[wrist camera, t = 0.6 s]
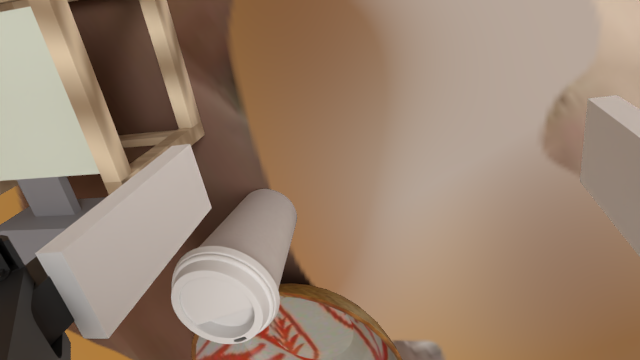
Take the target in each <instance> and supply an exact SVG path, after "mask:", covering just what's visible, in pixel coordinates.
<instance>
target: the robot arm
mask: <svg viewBox="0 0 640 360" xmlns="http://www.w3.org/2000/svg"><path fill="white" fill-rule="evenodd" d="M580 182H581V183H582V185H583V186H584V187H585V188H586V190H587V191H588V192H589V193H590V195H591V196H592V197H593V198H594V200H595V201H596V202H597V203H598V205H599V206H600V207H601V209H602V210H603V211H604V212H605V213H606V215H607V216H608V217H609V219H610V220H611V221H612V222H613V224H614V225H615V226H616V227H617V229H618V230H619V231H620V232H621V234H622V235H623V236H624V237H625V239H626V240H627V241H628V242H629V244H630V245H631V246H632V247H633V249H634V250H635V251H636V253H637V254H638V255H639V256H640V109H638V108H637V107H635V106H634V105H632V104H630V103H629V102H627V101H626V100H624V99H623V98H621V97H619V96H618V95H615V96H606V97H597V98H588V102H587V112H586V123H585V134H584V144H583V155H582V166H581V176H580ZM211 208H212V207H211V204H210V201H209V198H208V195H207V192H206V189H205V187H204V184H203V181H202V178H201V175H200V172H199V169H198V166H197V163H196V160H195V157H194V154H193V151H192V148H191V145H190V144H184V145H176V146H171V147H170V148H169V149H167V150H166V151H165V152H163V153H162V154H161V155H160V156H158V157H157V158H156V159H155V160H153V161H152V162H151V163H149V164H148V165H147V166H146V167H144V168H143V169H142V170H141V171H139V172H138V173H137V174H135V175H134V176H133V177H132V178H130V179H129V180H128V181H127V182H125V183H124V184H123V185H121V186H120V187H119V188H118V189H116V190H115V191H114V192H113V193H111V194H110V195H109V196H107V197H106V198H105V199H104V200H102V201H101V202H100V203H99V204H97V205H96V206H95V207H93V208H92V209H91V210H90V211H88V212H87V213H86V214H85V215H83V216H82V217H81V218H79V219H78V220H77V221H76V222H74V223H73V224H72V225H71V226H69V227H68V228H67V229H65V230H64V231H63V232H62V233H60V234H59V235H58V236H57V237H55V238H54V239H53V240H51V241H50V242H49V243H48V244H46V245H45V246H44V247H43V248H41V249H40V250H39V251H37V252H36V253H35V254H36V257H35V258H34V259H32V260H31V261H30V262H29V263H27V264H26V265H25V264H24V263H23V261H22V259H21V258H20V256H19V254H18V253H17V251H16V249H15V248H14V246H13V244H12V243H11V241H10V239H9V238H8V236H5V235H0V360H71V359H70V357H71V356H70V355H71V354H70V352H71V351H70V348H71V347H70V346H71V345H70V344H71V343H70V341H69V339H68V337H67V335H66V333H65V332H64V331H65V330H66V329H67V328H68V327H69V326H70V325H71V324H72V323H73V322H75V324H76V326H77V327H78V329H79V331H80V333H81V334H82V336H83V338H97V339H108V338H109V337H110V336H111V335H112V333H113V332H114V331H115V330H116V328H117V327H118V326H119V325H120V323H121V322H122V321H123V319H124V318H125V317H126V316H127V314H128V313H129V312H130V311H131V309H132V308H133V307H134V306H135V304H136V303H137V302H138V300H139V299H140V298H141V297H142V295H143V294H144V293H145V292H146V290H147V289H148V288H149V287H150V285H151V284H152V283H153V282H154V280H155V279H156V278H157V276H158V275H159V274H160V273H161V271H162V270H163V269H164V268H165V266H166V265H167V264H168V263H169V261H170V260H171V259H172V257H173V256H174V255H175V254H176V252H177V251H178V250H179V249H180V247H181V246H182V245H183V244H184V242H185V241H186V240H187V238H188V237H189V236H190V235H191V233H192V232H193V231H194V230H195V228H196V227H197V226H198V225H199V223H200V222H201V221H202V220H203V218H204V217H205V216H206V214H207V213H208V212H209V211H210V209H211Z"/></svg>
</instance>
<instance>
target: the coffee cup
mask: <svg viewBox="0 0 640 360" xmlns="http://www.w3.org/2000/svg"><path fill="white" fill-rule="evenodd" d="M296 221H297V214H296V210H295V208H294V206H293V204H292V203H291V201H290V200H289V199H288V198H287V197H286V196H284V195H283V194H281V193H279V192H277V191H274V190H271V189H259V190H255V191H253V192H251V193H249V194H248V195H247V196H246V197H245V198H244V199H243V200H242V201H241V202H240V204H239V205H238V206H237V207H236V208H235V209H234V210H233V211H232V212H231V213H230V214H229V215H228V216H227V218H226V219H225V220H224V221H223V222H222V223H221V224H220V225H219V226H218V227H217V228H216V229H215V230H214V232H213V233H212V234H211V235H210V236H209V237H208V238H207V239H206V240H205V241H204V242H203V243H202V244H201V245H200V246H199V247H198V248H196V249H193V250H191V251H189V252H188V253H186V254H185V255H184V256H183V257H182V258H181V259H180V260H179V261H178V263H177V265H176V267H175V270H174V273H173V277H172V292H171V301H172V306H173V309H174V311H175V313H176V315H177V316H178V318H179V319H180V320H181V322H182V323H183V324H184V325H185V326H186V327H187V328H189V329H190V330H191V331H192V332H194V333H195V334H197V335H199V336H201V337H203V338H205V339H207V340H210V341H213V342H217V343H222V344H238V343H242V342H245V341H248V340H250V339H251V338H253V337H254V336H255V335H256V334H258V333H260V332H261V331H263V330H264V329H265V328H266V327H267V326H268V325H269V324H270V323H271V322H272V321H273V319H274V318H275V317H276V315H277V313H278V310H279V306H280V296H279V291H278V289H279V285H280V281H281V278H282V274H283V270H284V266H285V263H286V259H287V255H288V251H289V248H290V244H291V240H292V236H293V232H294V229H295V225H296Z"/></svg>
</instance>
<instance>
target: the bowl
mask: <svg viewBox="0 0 640 360" xmlns="http://www.w3.org/2000/svg"><path fill="white" fill-rule="evenodd" d="M278 291H279V296H280V306H279V310H278V313H277V315H276V317H275V318H274V319H273V321H272V322H271V323H270V324H269V325H268V326H267V327H266V328H265V329H264V330H263V331H261V332H260V333H258V334H256V335H255V336H254V337H253V338H251V339H250V340H248V341H245V342H242V343H238V344H222V343H217V342H213V341H210V340H207V339H205V338H203V337H201V336H199V335H197V334H194V337H193V341H192V356H191V357H192V360H402V358H401V356H400V354H399V352H398V351H397V349H396V347H395V345H394V344H393V342H392V341H391V340H390V338H389V337H388V335H387V334H386V333H385V332H384V330H383V329H382V328H381V327H380V325H379V324H378V323H377V322H376V321H375V320H374V319H373V318H372V317H370V316H369V315H368V314H367V313H366V312H365V311H364V310H362V309H361V308H360V307H359V306H358V305H356V304H354V303H353V302H351V301H350V300H348V299H346V298H345V297H343V296H341V295H338V294H336V293H334V292H331V291H328V290H327V289H323V288H318V287H315V286H311V285H304V284H294V283H286V284H280V285H279V289H278Z"/></svg>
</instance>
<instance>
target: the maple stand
mask: <svg viewBox="0 0 640 360" xmlns="http://www.w3.org/2000/svg"><path fill="white" fill-rule="evenodd" d="M71 1H77V0H0V12H3V11H8V10H14V9H19V8H25V7H30V6H31V9H32V11H33V14H34V16H35V18H36V21H37V23H38V26H39V28H40V31H41V33H42V35H43V38H44V40H45V43H46V45H47V47H48V50H49V52H50V55H51V57H52V59H53V62H54V64H55V67H56V69H57V71H58V74H59V76H60V79H61V81H62V83H63V86H64V88H65V91H66V93H67V95H68V98H69V100H70V103H71V105H72V108H73V110H74V112H75V115H76V117H77V120H78V122H79V124H80V127H81V129H82V132H83V134H84V136H85V139H86V141H87V144H88V146H89V148H90V151H91V153H92V156H93V158H94V160H95V163H96V165H97V168H98V170H99V172H100V175H101V177H102V180H103V182H104V185H105V187H106V189H107V192H108V194H109V195H110V194H111V193H113V192H114V191H115V190H116V189H118V188H119V187H120V186H121V185H123V184H124V183H125V182H127V181H128V180H129V179H130V178H132V177H133V176H134V175H135V174H137V173H138V172H139V171H141V170H142V169H143V168H144V167H146V166H147V165H148V164H149V163H151V162H152V161H153V160H155V159H156V158H157V157H158V156H160V155H161V154H162V153H163V152H165V151H166V150H167V149H169V148H170V147H171V146H176V145H184V144H190V145H191V146H192V145H193V144H194V143H195V142H197V141H198V140H199V139H200V138H201V137H203V136H204V135H205V133H204V130H203V126H202V123H201V119H200V116H199V112H198V109H197V105H196V102H195V98H194V95H193V91H192V88H191V84H190V81H189V77H188V74H187V70H186V67H185V63H184V60H183V56H182V53H181V49H180V46H179V42H178V39H177V35H176V32H175V28H174V25H173V21H172V18H171V14H170V11H169V7H168V4H167V0H139V2H140V5H141V8H142V12H143V15H144V18H145V21H146V24H147V28H148V31H149V34H150V37H151V41H152V44H153V47H154V50H155V53H156V57H157V60H158V63H159V66H160V69H161V73H162V76H163V79H164V82H165V86H166V89H167V92H168V95H169V98H170V102H171V105H172V108H173V111H174V114H175V118H176V121H177V124H178V127H179V129H178V130H170V131H160V132H149V133H138V134H128V135H118V134H117V131H116V128H115V126H114V123H113V121H112V118H111V115H110V113H109V110H108V107H107V105H106V102H105V99H104V97H103V94H102V91H101V89H100V86H99V84H98V81H97V78H96V76H95V73H94V70H93V68H92V65H91V62H90V60H89V57H88V55H87V52H86V49H85V47H84V44H83V41H82V39H81V36H80V33H79V31H78V28H77V26H76V23H75V20H74V18H73V15H72V12H71V10H70V7H69V4H68V2H71ZM151 145H156V146H154V147H153V148H151V149H150V150H149V151H147V152H146V153H144V154H143V155H142V156H140V157H139V158H137V159H136V160H135V161H133V162H132V163H131V164H129V163H128V160H127V157H126V155H125V152H124V150H123V148H127V147H139V146H151ZM17 185H19V184H18V182H17V180H5V181H0V195H1V194H2V193H4V192H6V191H8V190H10V189H11V188H13V187H15V186H17Z"/></svg>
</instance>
